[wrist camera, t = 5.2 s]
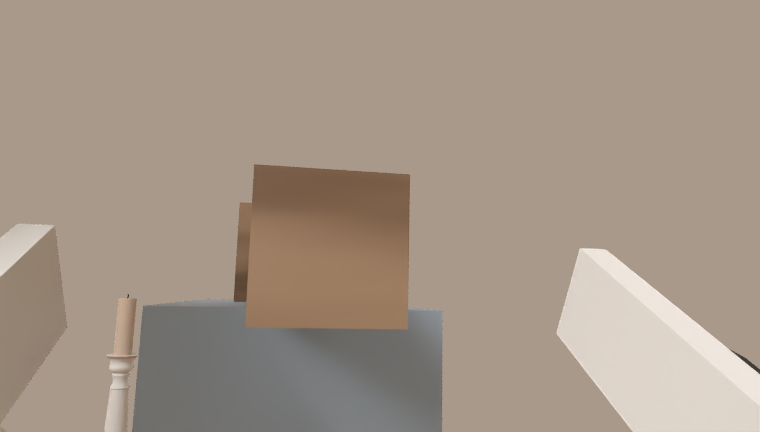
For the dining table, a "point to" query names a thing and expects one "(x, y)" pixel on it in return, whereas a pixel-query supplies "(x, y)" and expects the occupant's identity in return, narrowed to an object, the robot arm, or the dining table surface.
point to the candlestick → (121, 366)
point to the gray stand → (284, 374)
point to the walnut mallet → (324, 249)
